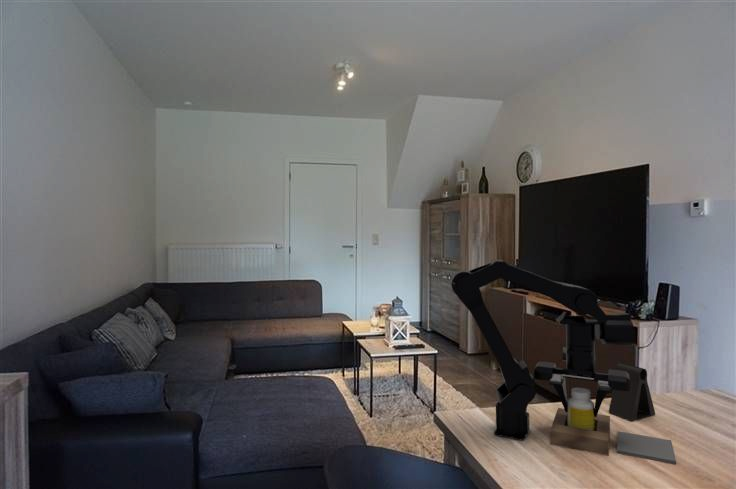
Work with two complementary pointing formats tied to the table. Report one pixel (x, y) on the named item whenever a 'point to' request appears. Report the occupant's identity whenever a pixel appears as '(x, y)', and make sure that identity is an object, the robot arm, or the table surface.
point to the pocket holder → (581, 434)
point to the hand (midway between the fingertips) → (580, 413)
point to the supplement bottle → (581, 409)
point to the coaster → (645, 447)
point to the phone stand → (633, 396)
